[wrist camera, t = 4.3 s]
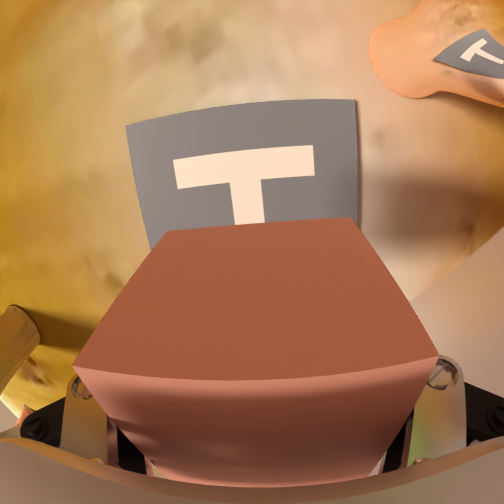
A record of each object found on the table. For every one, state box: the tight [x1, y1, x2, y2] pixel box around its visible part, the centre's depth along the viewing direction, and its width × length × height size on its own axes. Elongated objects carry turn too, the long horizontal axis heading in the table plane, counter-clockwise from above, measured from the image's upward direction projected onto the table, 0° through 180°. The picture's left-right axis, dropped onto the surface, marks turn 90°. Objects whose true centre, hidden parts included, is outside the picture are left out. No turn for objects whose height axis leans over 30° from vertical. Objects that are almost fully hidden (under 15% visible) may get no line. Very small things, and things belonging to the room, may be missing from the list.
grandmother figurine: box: [12, 405, 34, 428], centre depth 32 cm, size 8×4×13 cm, turn 146°
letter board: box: [126, 99, 358, 251], centre depth 19 cm, size 15×15×1 cm
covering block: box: [72, 217, 440, 487], centre depth 8 cm, size 6×6×6 cm
